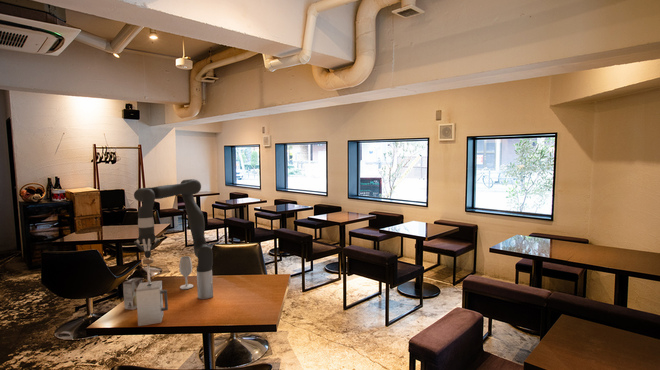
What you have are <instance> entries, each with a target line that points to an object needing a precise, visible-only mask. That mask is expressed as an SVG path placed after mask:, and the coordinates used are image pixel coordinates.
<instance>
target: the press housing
mask: <svg viewBox="0 0 660 370" xmlns="http://www.w3.org/2000/svg"><path fill="white" fill-rule="evenodd" d="M150 283H151V286H148V281H147V282H143V283H140V284H139V285H138V287H137V289H136V296H137V308H136V309H137V310H136V311H137V312H136V313H137V326H138V327H143V326H149V325H154V324H161V323H162V322H163V317H164V312H165V311H168V310H169V307H168V306H169V304H168V303H169V302H168V289H163V281H162V280H155V281H153V280H152V281H150ZM163 295H164V296H163ZM163 297H164V300H163Z"/></svg>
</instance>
